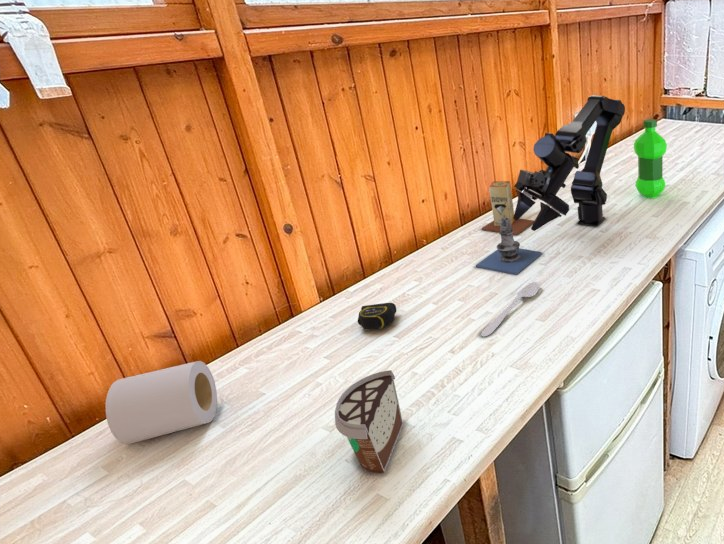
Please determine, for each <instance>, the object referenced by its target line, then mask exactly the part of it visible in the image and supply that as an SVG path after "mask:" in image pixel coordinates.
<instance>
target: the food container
mask: <svg viewBox="0 0 724 544" xmlns="http://www.w3.org/2000/svg"><path fill="white" fill-rule="evenodd" d="M395 380H396V377H395V374H394V372H393V371H392V369H389V370H383V371H379V372H375V373H371V374H369V375H367V376H364V377H362V378H360V379H359V380H358V381H356V382H354V383H352V384H351V385H350V386H349V387H348V388H346V390H345V391H344V392H343V393H342V394H341V395H340V396H339V398H338V399H337V402H336V406H335V409H334V424H335V428H336V430H337V431H338V432H339V433H340V434H341V435H342V436H344V437H346V438H347V440H348V443H349V444H350V447H351V448H352V450H353V453H354V455H355V457H356V459H357V461H358V463H359V465H360V466H361V468H362V469H364V470H365V471H368V472H370V473H376V474H384V473H386V470H387V467H388V464H389V462H390V459H391V456H392V454H393V452H394V449H395V446H396V444H397V441H398V438H399V436H400V434H401V431H402V429H403V426H404V421H403V416H402V411H401V407H400V402H399V397H398V393H397V389H396V384H395Z"/></svg>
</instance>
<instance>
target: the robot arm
mask: <svg viewBox="0 0 724 544" xmlns="http://www.w3.org/2000/svg"><path fill="white" fill-rule="evenodd" d="M625 113H626V107H625V104H624V103H623V102H622V100H621V99H613V98H609V97H607V96H605V95H597V94H595V95H594V94H592V95H589V96H588V98H587V100H586V103H585V104H584V105H583V107H582V108H581V109H580V111H579V112H578V113H577V114H576V115H575V117H574V119H573V120H572V121H571V122H570V123H566V124H565V125H562V126H561V127H560V128H559V129H558V130H556V132H555V134H554V133H552V132H545V133H544V136H542V137H540V138H539V139H538V140H537V141H536V142H535V143H534V145H533V153H534V155H535V156H536V157H537V158H538V159H539V160H540V161H542V163H543V164H545V166H547V167H546V169H545V170H544V169H540V170H539V171H537V170H535V171H534V172H533V171H529V170H524V169H520V170H519V173H518V177H517V180H516V183H515V185H514V186H513V188H515V190H514V191H515V193H516V197H517V202H516V205H515V210H514V217H513V219H514V220H516V221H517V220H518V219H521V218H522V217H523V216H524V215H525V214H526V213H527V212H528V211H529V210H530V209H531V208H532V207H533V206H534V205H535V204H536V203H537V202H536V201H537V200H540V202H539V203H540V207H539V208H540V210H539V211H538V214H537V215H536V218H535V219H534V220H533V221H534V223H533V224H532V225H531V226H530V230H531V231H533V232H536V231H537V230H539V229H540V228H542V227H544V226H545V225H547V224H548V223H550V222H552V221H554V220H555V219H558V218H561V217H562V215H563V216H564V217H565V216H567V214H568V213H569V211H570V205H569V204H568V203H567V202H566V201H564V199H562V198H561V197H559V196H557V194H558V192H559V191H560V190H561V188H562V189H565V188H566V187H567V184H566V183H565V182H566V180H567V178H568V177H569V175H570V174H571V172H572V171H573V169H574V168H575V169H577V170H576V171H575V173H574V177H573V180H572V182H571V186H570V194H571V197H572V200H573V203H574V204H578V206H577V219H578V221H577V223H576V224H577V225H582V226H589V227H598V226H599V225H601V224H602V223H603V221H605V220H606V217H605V216H604V213H603V206H604V205H606V203H607V199H608V194H607V193H606V191H605V190H604V188H603V185H604V183H603V181H602V178H601V177H602V176H601V172H602V168H603V164H604V162H605V158H606V154H607V150H608V148H609V144H610V140H611V137H612V134H613V132H614V131H613V130H615V129H616V128H617V127H618V126H620V124H621V122H622V120H623V116H624V115H625ZM595 123H596V126H595V130H594V132H593V136H592V140H591V143H590V147H589V149H588V153H587V157H586V160H585V163H584V167H583V168H582V170H578V169H579V168H580V167H579V166H580V164H579V158H578V157H576V156H574V155H571V154H580V153H581V152H583V149H584V148H585V146H586V144H587V134H588V133H589V131H590V129H591V128H592V127H593V125H594V124H595ZM570 153H571V154H570Z"/></svg>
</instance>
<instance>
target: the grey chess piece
mask: <svg viewBox="0 0 724 544" xmlns="http://www.w3.org/2000/svg"><path fill="white" fill-rule="evenodd" d="M499 223H500V232H499V235H500V240H501V241H500V242H499V243H498V244H496V249H497V250H498V251H499V253H500V254H501V255H502V256H501V257H500V258H499V259H500V261H501V262H505V263H510V262H515V261H517V260H519V259H520V255H519V254H517V252H518V250H519V248H520V246H521V243H520V242H519V241H517V240H515V239H514V235H513V232H514V231H513V230H512V227H511V220H510V219H509V218H506V217H505V215H503V218H502V219H500V221H499Z"/></svg>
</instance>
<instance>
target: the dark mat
mask: <svg viewBox="0 0 724 544" xmlns="http://www.w3.org/2000/svg"><path fill="white" fill-rule="evenodd" d="M534 221H535V220H533V219H526V218H519V219H518V220H517V221H516V220H514V221H513V223H512V225H511V227H512V230H513V231H514V232H513V236H518V235H519V234H520V233H522V232H524V231H525V230H526V229H528V228H529V227H532V225H533V223H534ZM481 230H482V231H486V232H492V233H499V232H500V226H495V225H494V220H492V221H491V222H489V223H487V224H486V225H484V226H482V227H481Z"/></svg>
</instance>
